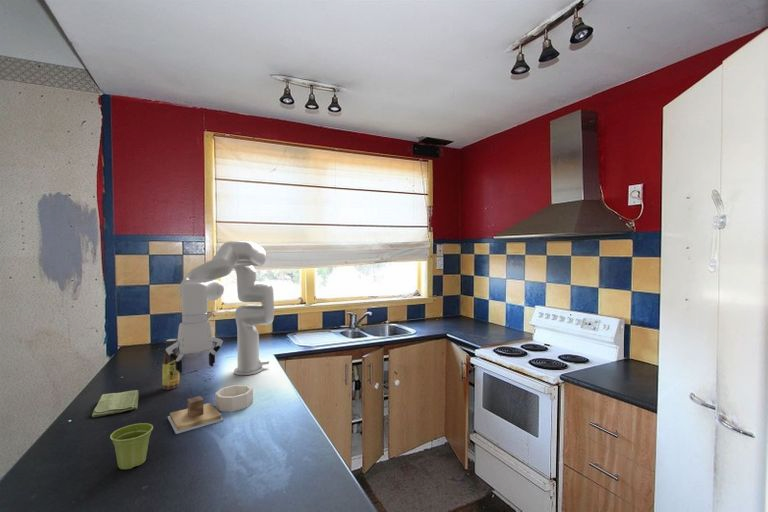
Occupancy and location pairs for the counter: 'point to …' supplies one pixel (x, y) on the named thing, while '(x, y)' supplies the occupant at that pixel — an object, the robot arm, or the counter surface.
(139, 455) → the plant pot
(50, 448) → the counter surface
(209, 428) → the counter surface
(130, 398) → the washcloth
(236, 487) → the counter surface
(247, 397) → the bowl
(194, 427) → the mat
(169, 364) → the sauce bottle
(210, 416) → the lid
